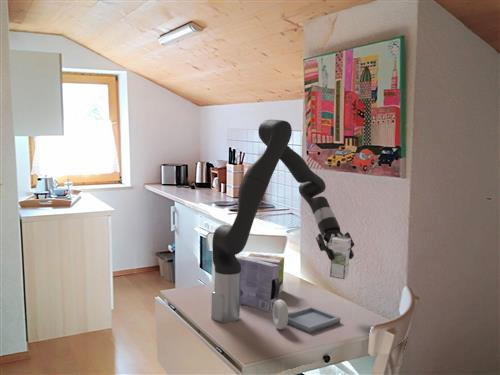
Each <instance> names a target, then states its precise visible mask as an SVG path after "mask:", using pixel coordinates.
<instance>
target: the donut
mask: <svg viewBox="0 0 500 375" xmlns="http://www.w3.org/2000/svg"><path fill="white" fill-rule="evenodd" d="M288 313H289V309H288V306H287V303H286V301H284V300H283V299H277V301H276V302H275V303H274V306H273V311H272V319H273V323H274V326H275V327H276V328H277V330H284V329H286V327H287V325H288V324H287V323H288Z"/></svg>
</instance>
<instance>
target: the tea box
mask: <svg viewBox="0 0 500 375" xmlns="http://www.w3.org/2000/svg"><path fill="white" fill-rule="evenodd" d="M246 257H247V258H251V259H255V260H260V261H264V262H267V263H272V264H276V265H279V277H278V278H279V283H280V290H279V294H278V296H279V295H280V294H281V293H282V291H283V290H284V289H283V287H284V274H285V273H284V272H285V271H284V268H285V256H284V257H283V256H276V255H266V254H261V253H260V254H259V253H252V252H251V253H250V254H249V255H247V256H246Z"/></svg>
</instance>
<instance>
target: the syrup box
mask: <svg viewBox="0 0 500 375" xmlns="http://www.w3.org/2000/svg"><path fill="white" fill-rule="evenodd" d="M351 238H352V237H351ZM351 238H345V237H337V236H336V237H334V238H333V239H332V246H331V249H332V251H333V254H334V256H335V259H334V260H333V261H331V260H330V267H329V272H330V273H329V277H330V278H336V279H341V280H346V279H347V278H348V277H349V272H350V271H349V267H350V259H349V256H350V244H351Z"/></svg>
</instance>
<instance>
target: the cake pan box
mask: <svg viewBox="0 0 500 375" xmlns="http://www.w3.org/2000/svg"><path fill="white" fill-rule="evenodd" d="M236 258H237V260H238V261H239V262H240V264H241V284H240V305H244V306H247V307H250V308H254V309H258V310H262V311H265V312H269V313H271V312H273V306H274V303H275V302H276V301H277V300H278V296H279V295H280V294H279V290H280V283H279V278H278V277H279V265H276V264H272V263H267V262H264V261H260V260H255V259H251V258H247V256H240V255H239V256H236ZM278 294H279V295H278Z"/></svg>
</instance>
